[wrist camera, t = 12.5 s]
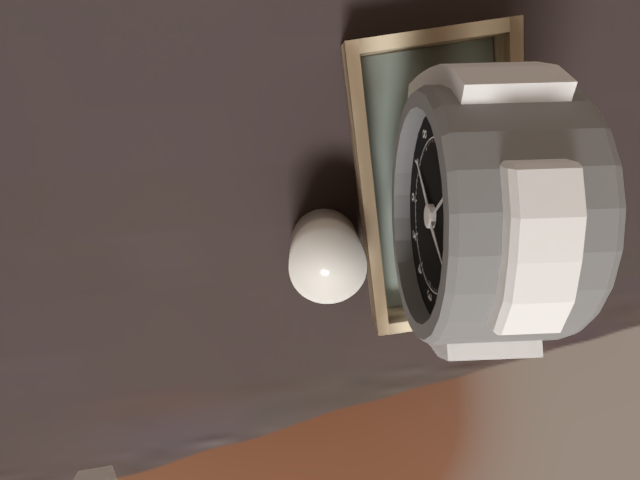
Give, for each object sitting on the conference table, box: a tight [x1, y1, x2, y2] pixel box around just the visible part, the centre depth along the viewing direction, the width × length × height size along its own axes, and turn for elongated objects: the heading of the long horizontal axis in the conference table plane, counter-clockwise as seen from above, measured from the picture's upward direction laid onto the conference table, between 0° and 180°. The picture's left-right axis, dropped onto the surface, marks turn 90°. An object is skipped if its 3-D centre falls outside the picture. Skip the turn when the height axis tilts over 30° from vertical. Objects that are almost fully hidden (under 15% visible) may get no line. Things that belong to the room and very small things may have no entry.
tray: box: [340, 15, 524, 336], centre depth 40 cm, size 13×24×4 cm, turn 8°
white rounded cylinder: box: [289, 209, 367, 304], centre depth 39 cm, size 6×6×7 cm
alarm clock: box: [392, 61, 626, 361], centre depth 31 cm, size 18×8×20 cm, turn 1°
